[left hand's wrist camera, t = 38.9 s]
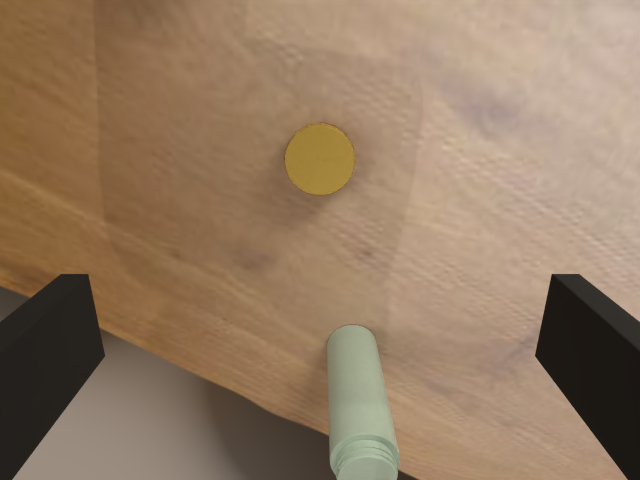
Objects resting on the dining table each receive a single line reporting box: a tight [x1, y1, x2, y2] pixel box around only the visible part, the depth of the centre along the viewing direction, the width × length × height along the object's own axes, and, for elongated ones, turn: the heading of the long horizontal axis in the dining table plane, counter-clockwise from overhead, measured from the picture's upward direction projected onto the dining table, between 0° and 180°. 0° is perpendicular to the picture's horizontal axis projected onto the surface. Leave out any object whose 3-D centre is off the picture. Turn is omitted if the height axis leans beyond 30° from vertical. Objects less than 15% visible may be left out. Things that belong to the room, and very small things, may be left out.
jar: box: [327, 325, 400, 480], centre depth 37 cm, size 5×5×16 cm
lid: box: [284, 122, 355, 195], centre depth 37 cm, size 6×6×2 cm
